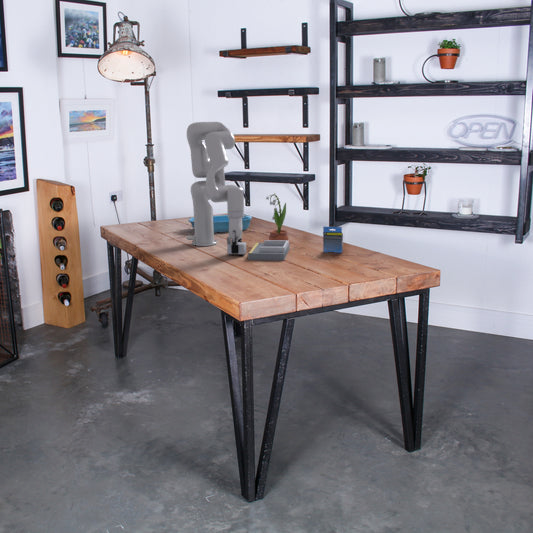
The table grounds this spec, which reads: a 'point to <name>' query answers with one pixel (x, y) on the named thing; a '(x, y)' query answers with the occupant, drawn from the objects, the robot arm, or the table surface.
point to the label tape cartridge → (332, 239)
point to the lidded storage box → (240, 247)
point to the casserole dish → (225, 223)
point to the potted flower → (278, 222)
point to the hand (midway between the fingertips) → (236, 251)
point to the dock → (269, 250)
